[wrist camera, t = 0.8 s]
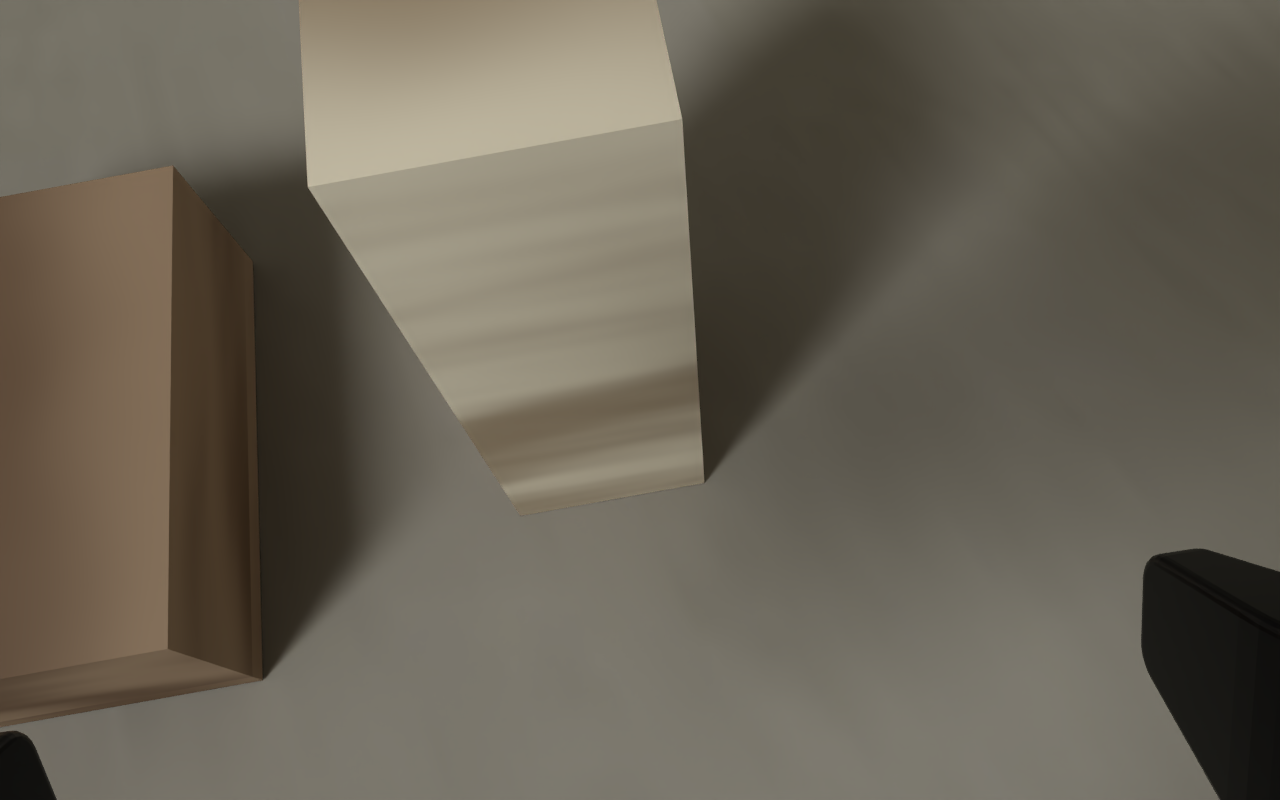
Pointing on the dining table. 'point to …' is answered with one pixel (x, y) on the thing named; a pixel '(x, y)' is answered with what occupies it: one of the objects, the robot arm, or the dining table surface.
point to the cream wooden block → (520, 225)
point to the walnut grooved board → (125, 449)
